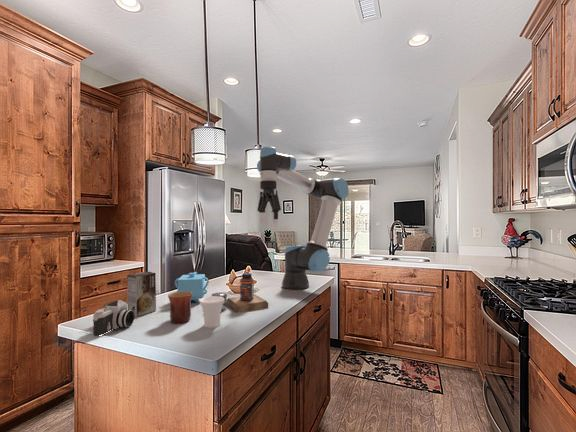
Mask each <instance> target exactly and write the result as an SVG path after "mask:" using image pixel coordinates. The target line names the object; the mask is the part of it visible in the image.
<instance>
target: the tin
mask: <svg viewBox="0 0 576 432" xmlns="http://www.w3.org/2000/svg"><path fill="white" fill-rule="evenodd" d="M211 296H220V297H223V298H224V302H223V304H222V309H221V312H225V311H227V310H228V305H227V299H228V293H227V292H223V291H222V292H214V293H212V294H211Z"/></svg>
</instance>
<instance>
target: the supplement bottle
mask: <svg viewBox="0 0 576 432" xmlns="http://www.w3.org/2000/svg"><path fill="white" fill-rule="evenodd" d="M252 275H253V274H252V273H251V272H243V273H242V277H241V278H240V280H239V296H240V299H241V300H243V301H250V300H252V299H253V297H254V286H255V282H254V278H253V277H252Z"/></svg>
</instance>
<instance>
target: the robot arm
mask: <svg viewBox="0 0 576 432" xmlns="http://www.w3.org/2000/svg"><path fill="white" fill-rule="evenodd" d="M259 152H260V153H259V154H260V155H259V160H258V161H257V164H256V168H257V171H258V172H259V176H260V179H259V180H260V182H259V183H260V184H259V185H260V186H259V187H260V189H261V190H263V191H260V192H259V201H258V203H257V204H258V205H257V212H258V213H259V227H266V208H267V205H268V203H269V205H270V208H271V227H272V228H275V227H276V228H278V227H279V212H280V211H281V210H282V208H281V204H280V199H279V195H278V194H279V193H278V190H277V179H279V180H281V181H283V182H285V183H287V184H289V185H291V186H294V187H295V188H298V189H300V190H302V192H303V193H304V194H306V195H308V196H309V197H313V198H315V199H318V200H321V201H322V203H321V207H320V209H319V213H318V216H317V219H316V221H315V225H314V230H313V232H312V235H311V239H310V241H308V242H307V243H306V244H299V245H290V246H288V245H287V246H286V247H285V250H284V274H283V275H284V276H283V279H282V281H281V287H282V288H284V289H288V290H304V289H307V288H309V287H310V282H309V278H308V275H307V271H309V272H310V271H311V272H315V273H316V272H319V273H320V272H323V271H324V270H326V268H328V267H329V264H330V259H331V258H330V253H329V252H328V250H329V247H327V243H328V239H329V238H330V234H331V229H332V226H333V222H334V219H335V215H336V212H337V209H338V207H339V206H341V204H342V202H343V200H344V199H346V198H347V197H348V196H349V192H350V190H349V189H350V188H349V185H348V183H347V181H346V180H345V179H344V178H342V177H339V178H338V177H334V178H327V179H315V178H312V177H307V176H305V175H303V174H301V173H300V172H299V173H298V172H297V171H295V168H296V167H297V158H296V157H295V156H293V155H290V154H283V153H279V152H277V148H276V147H274V146H263V147H261V148H260V151H259Z"/></svg>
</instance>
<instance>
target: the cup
mask: <svg viewBox="0 0 576 432" xmlns="http://www.w3.org/2000/svg"><path fill="white" fill-rule="evenodd" d="M223 302H224V298H223V297H220V296H212V295H211V296H203V298H201V299H200V298H199V304H200V306H201V308H202V312H203V319H204V324H203V325H204V327H205V328H210V329H211V328H216V327H219V326H220V325H221V312H222V311H221V309H222V304H223Z"/></svg>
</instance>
